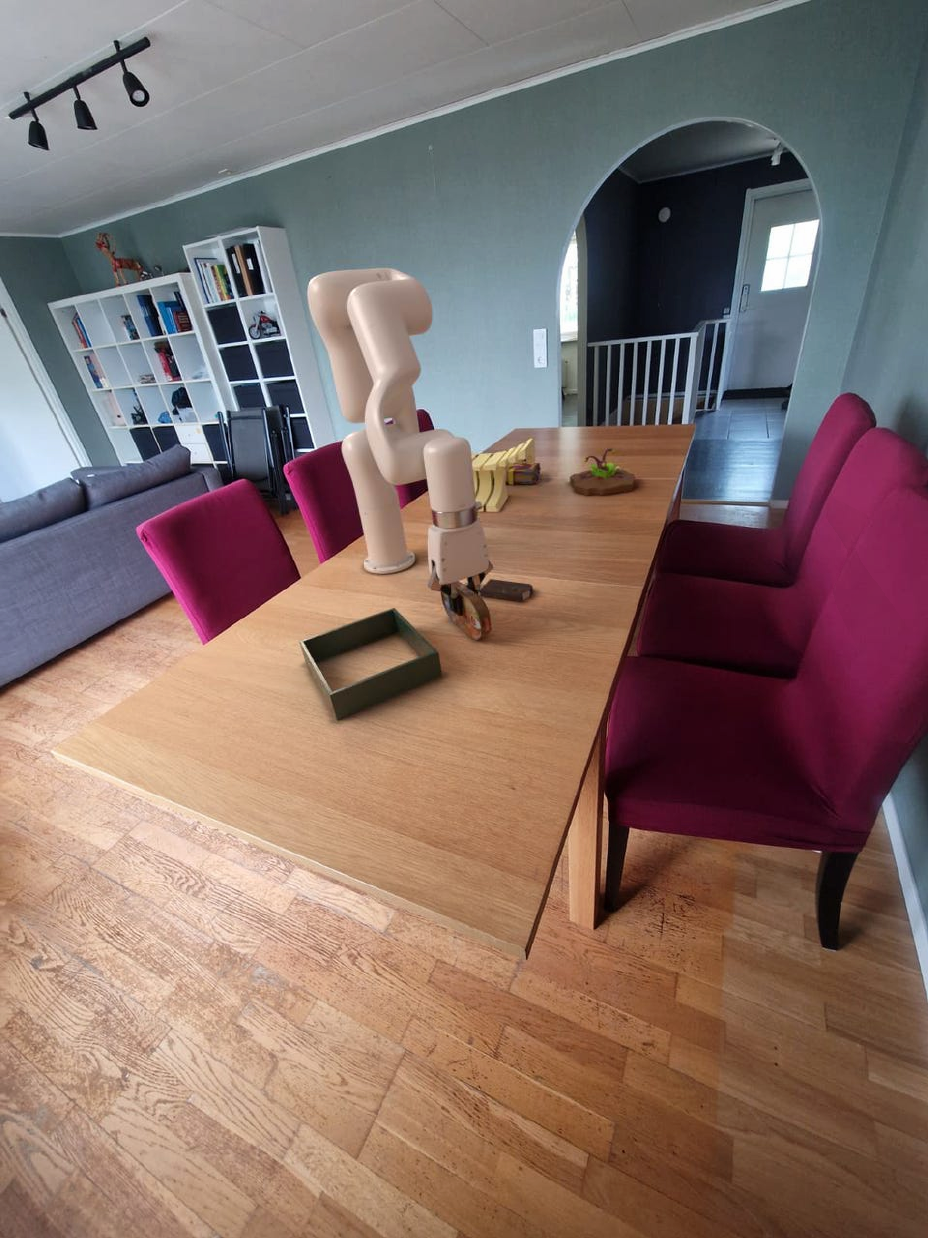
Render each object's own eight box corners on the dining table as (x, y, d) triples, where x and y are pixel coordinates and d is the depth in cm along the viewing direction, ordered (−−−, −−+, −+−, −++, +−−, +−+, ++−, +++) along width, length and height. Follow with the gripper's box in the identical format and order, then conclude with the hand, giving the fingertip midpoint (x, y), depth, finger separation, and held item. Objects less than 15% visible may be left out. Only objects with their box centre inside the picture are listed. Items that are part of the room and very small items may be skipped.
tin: (443, 614, 102) (435, 577, 98) (457, 608, 103) (449, 571, 99) (482, 648, 91) (475, 608, 86) (497, 641, 92) (491, 601, 87)
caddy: (306, 664, 92) (299, 641, 89) (398, 630, 99) (394, 607, 96) (337, 720, 78) (329, 695, 75) (442, 676, 85) (438, 651, 82)
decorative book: (499, 475, 183) (498, 460, 181) (543, 475, 178) (543, 460, 175) (490, 484, 174) (488, 469, 172) (536, 485, 169) (536, 469, 166)
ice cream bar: (459, 593, 109) (525, 603, 103) (458, 586, 108) (525, 596, 102) (470, 582, 113) (534, 591, 107) (469, 575, 112) (534, 584, 106)
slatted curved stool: (536, 494, 161) (534, 435, 152) (527, 511, 148) (524, 448, 139) (446, 494, 170) (439, 439, 160) (430, 511, 157) (422, 452, 148)
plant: (643, 492, 153) (647, 453, 147) (577, 497, 154) (578, 460, 148) (626, 473, 170) (628, 438, 164) (567, 479, 171) (567, 444, 165)
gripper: (483, 499, 92) (491, 589, 101) (401, 522, 85) (417, 616, 95) (507, 508, 86) (512, 604, 95) (420, 534, 80) (435, 633, 89)
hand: (465, 609), depth 95 cm, fingers closed
